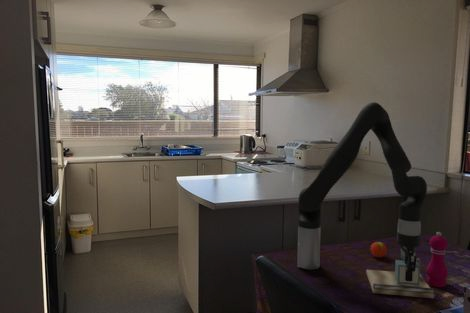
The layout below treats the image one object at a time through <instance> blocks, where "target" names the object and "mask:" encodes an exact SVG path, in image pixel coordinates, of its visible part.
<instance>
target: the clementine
mask: <svg viewBox="0 0 470 313" xmlns="http://www.w3.org/2000/svg"><path fill="white" fill-rule="evenodd" d="M370 252H371V254H372V256H374V257H375V258H383V257H384V256H386V255H387V252H388V250H387V246H386V245H385V244H384V243H383V242H381V241H375V242H373V243H372V244H371V246H370Z"/></svg>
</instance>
